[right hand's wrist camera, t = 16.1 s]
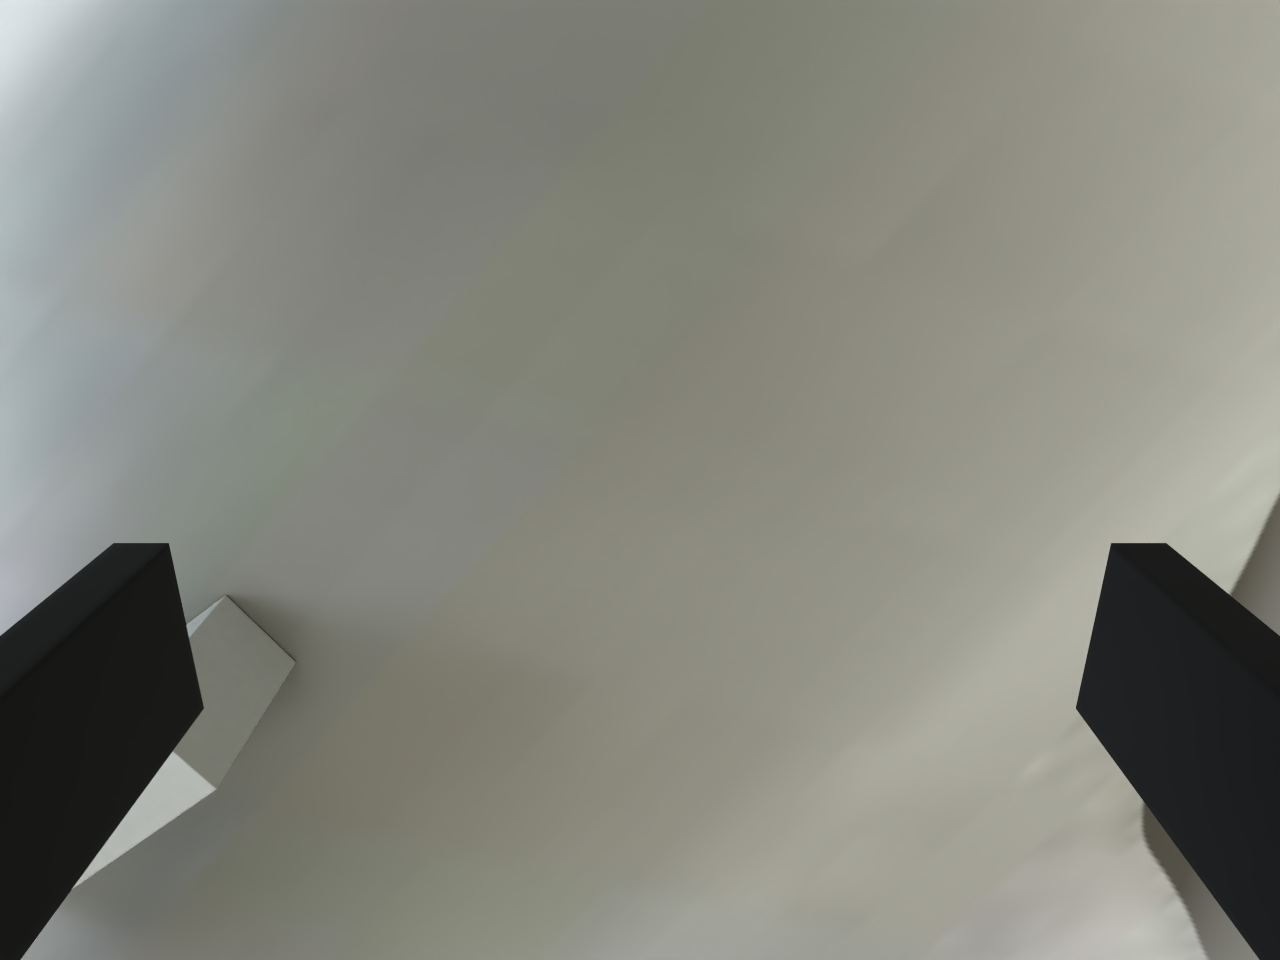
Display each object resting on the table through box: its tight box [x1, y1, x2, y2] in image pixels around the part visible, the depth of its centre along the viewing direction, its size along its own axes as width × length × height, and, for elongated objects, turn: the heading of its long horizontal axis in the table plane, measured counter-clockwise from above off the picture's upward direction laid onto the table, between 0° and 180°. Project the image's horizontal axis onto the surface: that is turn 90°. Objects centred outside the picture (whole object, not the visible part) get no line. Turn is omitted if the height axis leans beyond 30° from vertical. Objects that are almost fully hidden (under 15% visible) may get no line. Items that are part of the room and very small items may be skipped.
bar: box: [72, 595, 296, 889], centre depth 44 cm, size 24×5×10 cm, turn 127°
